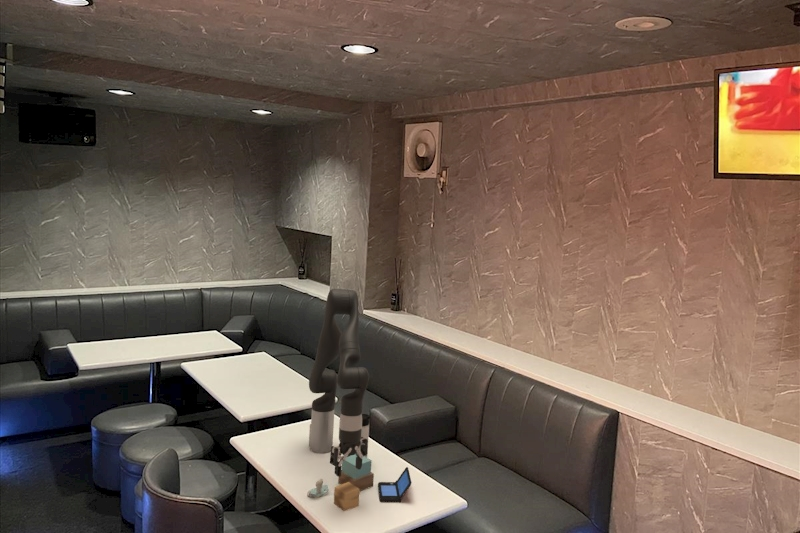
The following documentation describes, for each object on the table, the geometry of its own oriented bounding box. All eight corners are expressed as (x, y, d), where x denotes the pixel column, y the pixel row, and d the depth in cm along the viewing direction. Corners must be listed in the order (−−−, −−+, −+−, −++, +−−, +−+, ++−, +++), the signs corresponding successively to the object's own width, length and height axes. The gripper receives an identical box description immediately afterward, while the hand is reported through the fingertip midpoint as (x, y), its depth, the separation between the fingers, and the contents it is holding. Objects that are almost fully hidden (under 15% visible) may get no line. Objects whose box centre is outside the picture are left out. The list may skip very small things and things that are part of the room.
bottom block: (338, 484, 204) (338, 471, 204) (357, 476, 210) (358, 464, 210) (353, 494, 198) (354, 480, 197) (372, 486, 204) (373, 473, 203)
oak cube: (333, 503, 191) (334, 487, 190) (347, 498, 195) (348, 481, 194) (344, 511, 186) (345, 494, 186) (358, 505, 190) (359, 488, 190)
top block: (341, 471, 203) (342, 458, 203) (357, 465, 209) (357, 452, 208) (355, 479, 198) (355, 466, 198) (370, 473, 203) (371, 460, 203)
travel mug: (365, 469, 216) (368, 419, 214) (348, 466, 218) (351, 417, 215) (369, 462, 222) (372, 413, 220) (353, 459, 224) (356, 411, 221)
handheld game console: (377, 484, 205) (378, 465, 205) (406, 485, 207) (407, 465, 206) (379, 503, 193) (380, 482, 192) (410, 503, 194) (411, 483, 193)
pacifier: (303, 495, 195) (314, 501, 191) (303, 477, 195) (314, 483, 191) (319, 488, 201) (330, 493, 197) (319, 471, 200) (331, 476, 196)
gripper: (360, 417, 195) (357, 462, 197) (326, 427, 185) (324, 473, 187) (374, 424, 190) (371, 470, 191) (340, 434, 180) (338, 482, 181)
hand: (348, 472), depth 189 cm, fingers open, 8 cm apart
